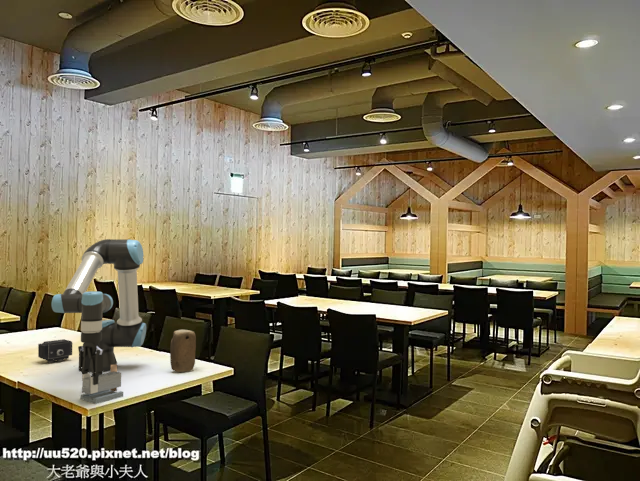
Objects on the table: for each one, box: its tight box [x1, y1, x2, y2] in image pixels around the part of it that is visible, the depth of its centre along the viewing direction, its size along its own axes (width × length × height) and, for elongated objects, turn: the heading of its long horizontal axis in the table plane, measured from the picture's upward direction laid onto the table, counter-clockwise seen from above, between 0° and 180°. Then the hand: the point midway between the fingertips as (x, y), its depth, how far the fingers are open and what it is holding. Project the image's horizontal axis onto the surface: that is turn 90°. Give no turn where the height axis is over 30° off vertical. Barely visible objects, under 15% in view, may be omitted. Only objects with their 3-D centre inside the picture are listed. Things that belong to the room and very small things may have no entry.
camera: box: [37, 339, 73, 364], centre depth 260 cm, size 11×11×15 cm
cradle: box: [79, 389, 124, 405], centre depth 200 cm, size 12×10×2 cm
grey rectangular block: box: [81, 371, 122, 394], centre depth 200 cm, size 14×4×6 cm, turn 147°
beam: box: [110, 363, 118, 392], centre depth 216 cm, size 2×15×8 cm, turn 22°
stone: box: [169, 329, 197, 373], centre depth 245 cm, size 12×7×20 cm, turn 137°
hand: (89, 391), depth 196 cm, fingers closed on grey rectangular block, 4 cm apart
